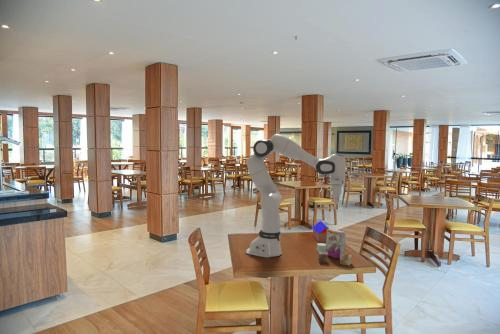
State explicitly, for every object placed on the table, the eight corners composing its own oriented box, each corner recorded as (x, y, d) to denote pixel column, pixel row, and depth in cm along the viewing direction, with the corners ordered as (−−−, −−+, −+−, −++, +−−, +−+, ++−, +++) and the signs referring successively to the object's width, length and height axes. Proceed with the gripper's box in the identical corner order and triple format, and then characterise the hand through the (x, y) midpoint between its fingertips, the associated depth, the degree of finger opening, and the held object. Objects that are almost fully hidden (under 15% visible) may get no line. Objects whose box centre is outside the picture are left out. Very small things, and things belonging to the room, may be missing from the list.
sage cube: (319, 253, 218) (319, 245, 217) (316, 250, 223) (316, 243, 222) (326, 253, 218) (326, 245, 218) (324, 250, 223) (324, 243, 223)
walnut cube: (318, 262, 200) (319, 254, 200) (318, 259, 205) (318, 251, 205) (327, 263, 199) (327, 254, 199) (327, 260, 204) (327, 251, 204)
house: (318, 243, 241) (318, 226, 240) (312, 235, 261) (312, 220, 260) (335, 243, 242) (335, 226, 241) (327, 235, 261) (328, 220, 261)
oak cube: (340, 264, 197) (340, 255, 197) (342, 262, 202) (343, 253, 201) (348, 266, 195) (348, 257, 194) (351, 263, 199) (351, 255, 198)
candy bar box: (325, 255, 214) (326, 229, 213) (330, 253, 217) (331, 228, 216) (339, 260, 205) (340, 233, 204) (344, 258, 208) (345, 231, 207)
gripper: (334, 178, 221) (333, 200, 222) (330, 181, 201) (330, 205, 202) (344, 179, 219) (343, 200, 219) (341, 182, 199) (341, 205, 200)
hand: (337, 202), depth 211 cm, fingers open, 7 cm apart
